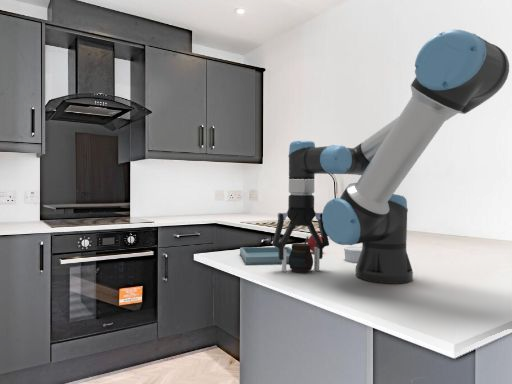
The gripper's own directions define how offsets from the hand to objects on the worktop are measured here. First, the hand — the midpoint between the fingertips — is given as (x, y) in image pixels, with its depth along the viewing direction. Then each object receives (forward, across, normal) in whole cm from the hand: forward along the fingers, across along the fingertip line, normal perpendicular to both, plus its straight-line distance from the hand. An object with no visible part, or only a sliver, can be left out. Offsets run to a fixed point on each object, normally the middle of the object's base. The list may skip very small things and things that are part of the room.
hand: (300, 270), depth 117 cm
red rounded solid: (0, -13, -28) cm, 31 cm away
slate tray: (0, +6, -19) cm, 20 cm away
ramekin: (+1, -23, -13) cm, 26 cm away
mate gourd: (0, 0, 0) cm, 0 cm away
